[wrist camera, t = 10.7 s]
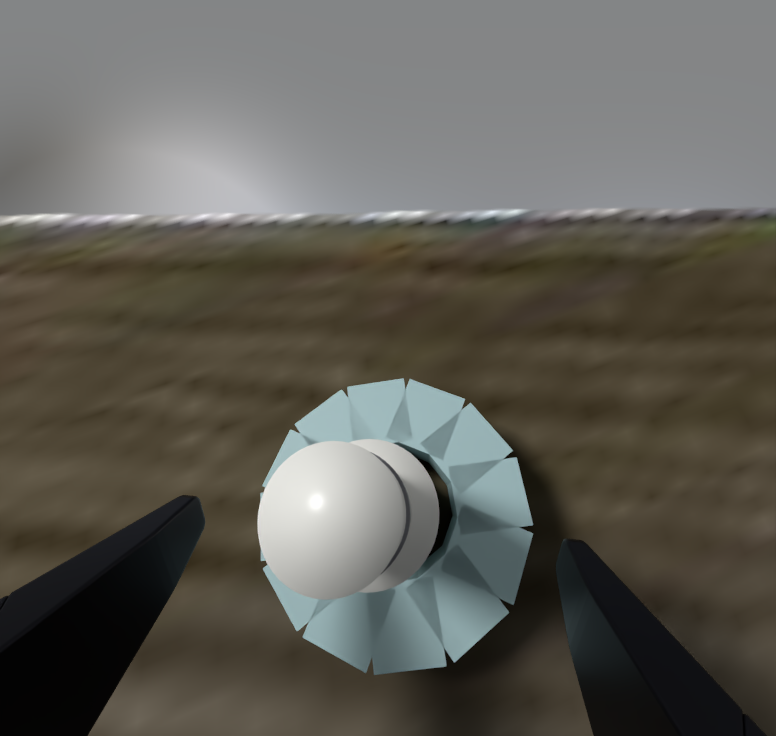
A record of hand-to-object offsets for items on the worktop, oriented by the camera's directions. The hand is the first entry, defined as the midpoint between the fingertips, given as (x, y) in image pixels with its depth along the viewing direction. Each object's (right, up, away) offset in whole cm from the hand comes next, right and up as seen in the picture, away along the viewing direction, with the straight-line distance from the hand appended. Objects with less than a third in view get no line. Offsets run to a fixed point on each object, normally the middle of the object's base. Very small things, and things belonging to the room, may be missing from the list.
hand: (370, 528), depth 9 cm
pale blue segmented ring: (+1, -2, +8) cm, 8 cm away
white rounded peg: (+1, -2, +8) cm, 8 cm away
